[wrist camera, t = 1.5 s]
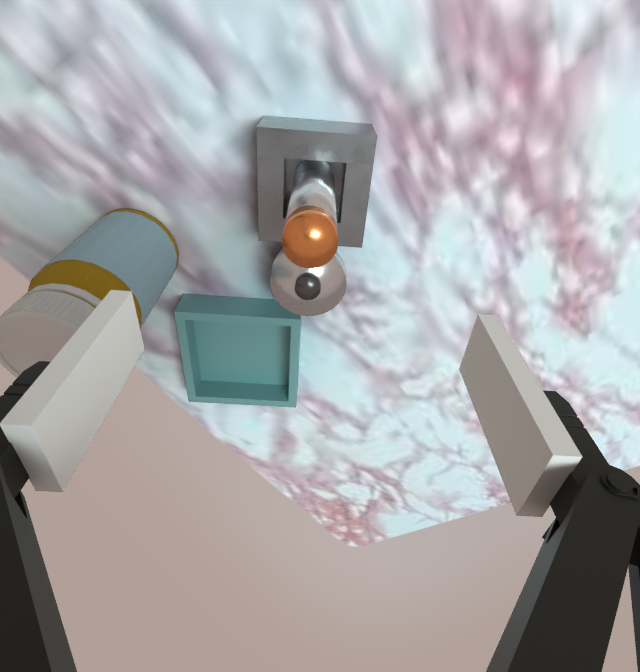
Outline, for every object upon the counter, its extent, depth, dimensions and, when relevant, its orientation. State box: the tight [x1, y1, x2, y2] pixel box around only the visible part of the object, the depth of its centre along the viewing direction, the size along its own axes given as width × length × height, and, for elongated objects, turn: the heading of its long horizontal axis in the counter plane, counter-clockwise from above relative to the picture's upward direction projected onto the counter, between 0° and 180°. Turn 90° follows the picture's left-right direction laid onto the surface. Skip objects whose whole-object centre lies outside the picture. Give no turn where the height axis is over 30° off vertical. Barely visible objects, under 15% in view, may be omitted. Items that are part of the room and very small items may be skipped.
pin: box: [282, 160, 338, 268], centre depth 27 cm, size 3×3×12 cm
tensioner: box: [256, 116, 377, 316], centre depth 32 cm, size 14×8×5 cm, turn 176°
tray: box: [174, 294, 301, 407], centre depth 41 cm, size 11×11×3 cm
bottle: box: [0, 209, 179, 378], centre depth 30 cm, size 7×7×15 cm
